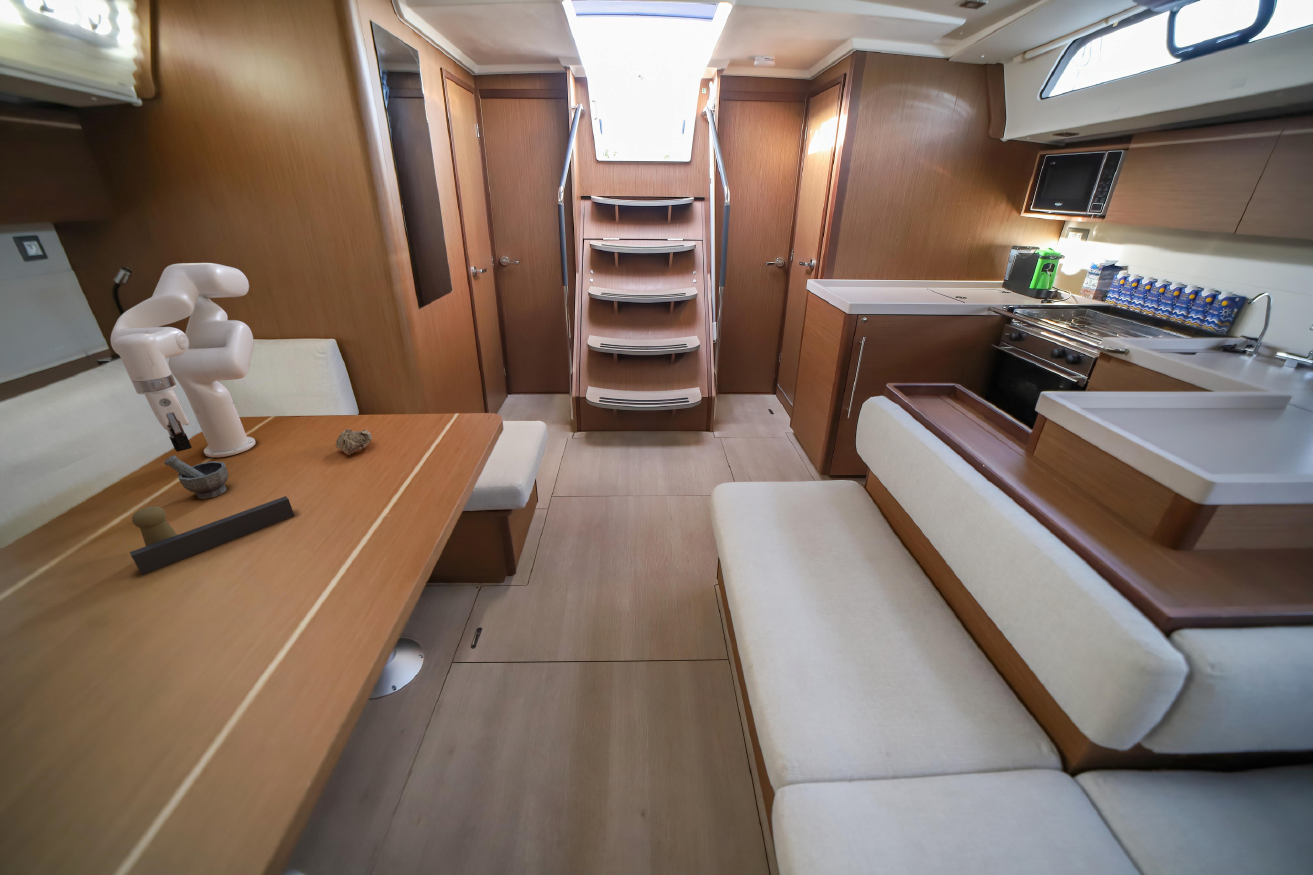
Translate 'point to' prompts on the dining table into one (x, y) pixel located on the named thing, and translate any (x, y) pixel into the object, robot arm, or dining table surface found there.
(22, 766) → the dining table surface
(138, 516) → the cork
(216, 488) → the mortar and pestle
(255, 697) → the dining table surface
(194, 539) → the backstop rail
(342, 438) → the rough grey rock
